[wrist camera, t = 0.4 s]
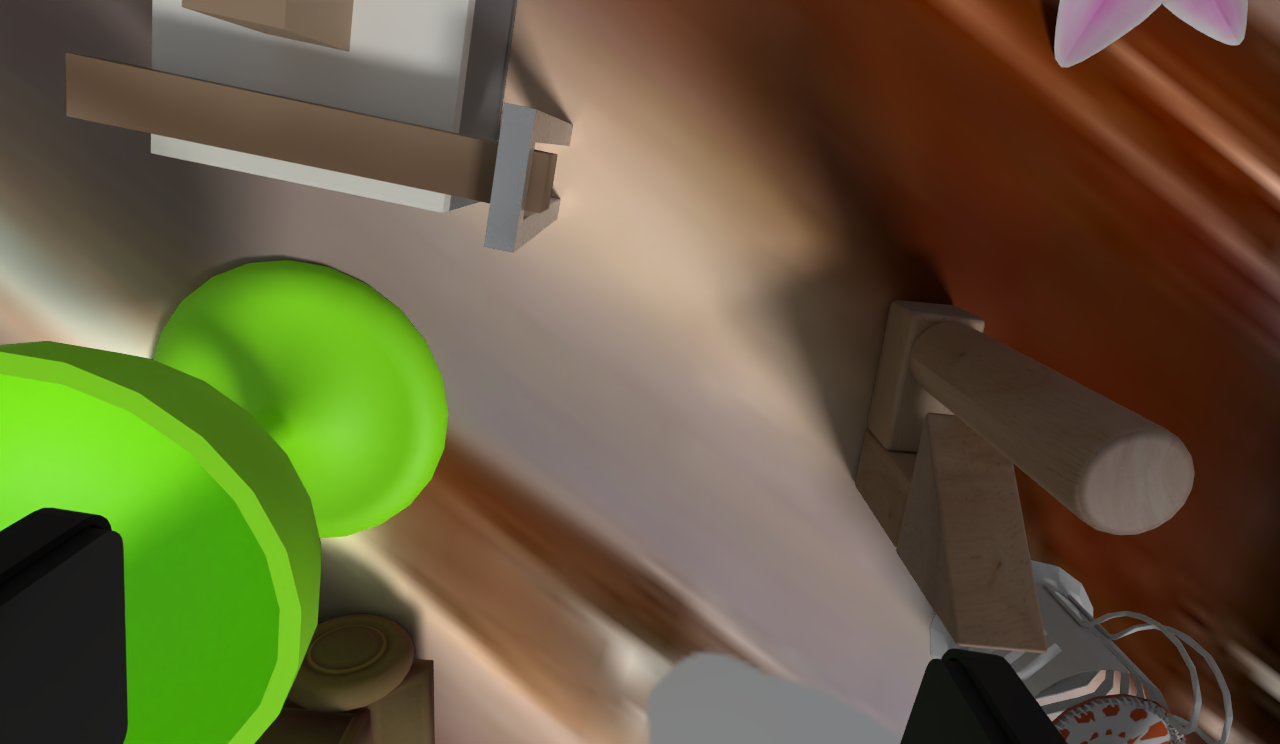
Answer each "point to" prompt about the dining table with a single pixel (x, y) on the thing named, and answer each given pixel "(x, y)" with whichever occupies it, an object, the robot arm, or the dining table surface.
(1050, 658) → the french press
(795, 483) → the dining table surface
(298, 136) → the tan bar
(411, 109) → the lid
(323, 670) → the wooden toy train
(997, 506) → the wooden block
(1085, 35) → the lily
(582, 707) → the dining table surface
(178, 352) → the wineglass
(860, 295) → the dining table surface
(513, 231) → the toolbox
